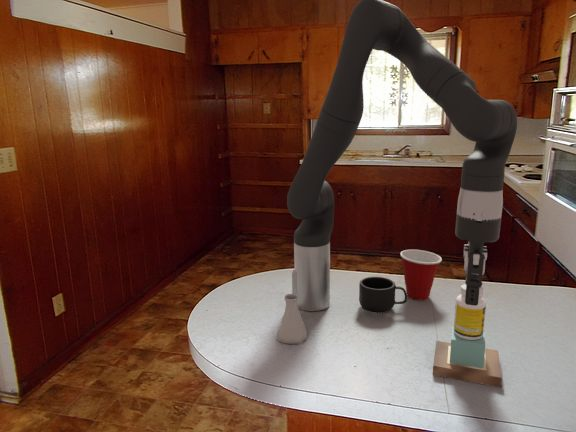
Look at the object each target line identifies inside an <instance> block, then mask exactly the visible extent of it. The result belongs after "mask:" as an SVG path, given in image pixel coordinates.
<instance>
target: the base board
mask: <svg viewBox="0 0 576 432" xmlns="http://www.w3.org/2000/svg"><path fill="white" fill-rule="evenodd" d="M450 351H451V342H449V341H448V342H446V341H442V340H441V341H440V340H436V341H435V349H434V357H433V364H432V376H438V377H442V378H448V379H454V380H457V381H458V380H459V381H464V382H471V383H474V384H475V383H476V384H482V385H487V386H491V387H492V386H493V387H495V388H501V387H502V379H503V375H502V370H501V361H500V355H499V350H497V349H491V348H486V347H485V355H484V365H483V368H478V367H472V366H466V365H460V364H455V363H450Z"/></svg>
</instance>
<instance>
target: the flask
mask: <svg viewBox="0 0 576 432" xmlns="http://www.w3.org/2000/svg"><path fill="white" fill-rule="evenodd" d="M297 300H298V295H296V294H292V293H287V294H285V295H284V301H285V308H284V314H283V316H282V318H281V319H282V320H281V322H280V325H279V328H278V331H277V335H276V337H277V338H276V340H277V341H279V342H281V343H284V344H287V345H289V344H290V345H291V344H293V345H294V344H296V345H297V344H302V343H303V342H304V341H306V340H307V339H308V331H307V329H306V326H305V324H304V320H303V319H302V316H301V313H300V311H299V308H298V306H297Z"/></svg>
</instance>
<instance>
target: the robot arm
mask: <svg viewBox="0 0 576 432" xmlns="http://www.w3.org/2000/svg"><path fill="white" fill-rule="evenodd" d="M373 50H375V51H383V52H384V53H386V54H389V56H392V57H394V58H395V59H397V60H398V61H400V62H401V63H402V64H403V65H404V66H405V67H406V68H407V69H408V70H409V72H410V74H411V76H412V78H413V81H414V82H415V83H416V84H417V86H418V87H419V89H421V91H422V92H423V93H424V94H425V95H427V96H428V97H429V98H430V99H431V100H432V101H433V102H434V103H435V104H437V106H439V107H440V108H441V109H442V110H443V111H444V112H443V113H444V114H445V115H446V117H447V118H448V120H449V122H450V123H451V125H452V126H453V127H454V129H455V130H456V131H457V132H458V133H459V134H460V136H462V137H464V138H465V139H467V140H468V141H472V142H475V143H474V144H475V145H474V149H473V151H472V153H471V154H470V155H468V156H467V157H466V158H465V159H464V160H463V162H462V166H461V176H460V178H461V179H460V189H459V192H458V193H459V194H458V198H457V208H456V218H455V219H456V220H455V228H454V229H455V232H454V235H455V236H456V237H457V238H458V239H460V240H463V241H467V244H463V259H464V266H463V271H464V274H465V281H464V284H466V295H465V303H466V304H467V305H474V306H476V305H478V299H479V289H480V287H483V275H484V274H485V272H486V271H485V270H486V261H487V258H488V249H487V248H488V247H487V245H486V246H485V244H486V243H489V244H490V243H494V242H497V241H498V240H499V238H500V232H501V225H502V213H503V205H504V198H503V193H504V190H503V189H504V183H505V172H506V171H505V170H506V168H505V167H506V164H507V161H508V158H509V156H510V153H511V151H512V148H513V143H514V141H515V138H516V134H517V130H518V129H517V127H518V115H517V112H516V110H515V108H514V106H513V105H512V104H511V103H510V102H508V101H507V100H505V99H486V98H485V97H482V96H481V95H480V93H478V92H477V91H476V88H477V87H476V82H475V81H474V80H473V78H472V77H470V76H469V75H468V74H467V73H466V72H465V71H464V70H463V69H461V68H460V67H459V66H458V65H457V64H455V63H454V62H453V61H451V60H450V59H449V58H447V57H446V56H445V55H444V54H442V52H440V51H439V50H438V49H436V47H434V46H433V45H432V44H431V43H430V42H429V41H428V40H427V39H426V38H425V37H424V36H423V35H422V34H421V33H420V32H419V31H418V29H417V28H416V27H415V25H414V24H413V23H412V21H411V20H410V19H409V18H408V17H407V15H406V14H405V12H403V10H401V9H400V7H398V6H396V5H395V4H394V3H392V2H391V3H390V2H388V1H385V0H360V1H359V2H358V3H357V4H356V5H355V6H354V8H353V10H352V11H351V13H350V16H349V18H348V21H347V25H346V27H345V31H344V35H343V40H342V44H341V47H340V51H339V55H338V59H337V62H336V67H335V70H334V72H333V75H332V78H331V82H330V84H329V88H328V90H327V93H326V96H325V99H324V101H323V103H322V105H321V109H320V111H319V114H318V117H317V120H316V124H315V127H314V130H313V132H312V135H311V138H310V140H309V143H308V146H307V149H306V151H305V154H304V157H303V159H302V162H301V164H300V166H299V168H298V169H297V173H296V174H295V176H294V178H293V181H292V183H291V184H290V187H289V190H288V192H287V196H286V206H287V209H288V211H289V213H290V215H291V216H292V217H293V218H294V219H297V220H302V221H301V223H300V224H299V226H298V227H297V228H296V229H295V231H294V233H293V250H294V251H293V253H294V254H293V256H294V257H293V258H294V259H293V260H294V269H293V270H292V271H291V288H292V290H291V294H296V295H298V300H297V306H298V309H300V310H303V311H308V312H318V311H322V310H325V309H327V308H328V307H330V305H331V301H330V300H331V235H332V233H333V229H334V219H335V218H334V217H335V195H334V192H333V189H332V187H331V185H330V184H329V182H328V181H326V180H327V177H328V174H329V173H330V172H331V169H332V168H333V167H334V165H335V164H337V161H339V159H340V158H342V156H343V154H344V153H345V151H346V150H347V149H348V148H349V146H350V145H351V143H352V142H353V140H354V137H355V135H356V132H357V130H358V129H359V127H360V123H361V121H362V117H363V114H364V86H363V85H364V84H363V82H364V81H363V80H364V74H365V70H366V66H367V64H368V61H369V58H370V56H371V54H372V51H373Z"/></svg>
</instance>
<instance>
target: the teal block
mask: <svg viewBox="0 0 576 432" xmlns="http://www.w3.org/2000/svg"><path fill="white" fill-rule="evenodd" d="M450 341H451V342H450V343H451V351H450V363H455V364H460V365H466V366H472V367H478V368H483V365H484V355H485V348H486V335H485V330H484V331H483V336H482V338H480V339H478V340H467V339H463V338H460V337H459V336H457V335H456V334H455V333H454V324H452V327H451V340H450Z"/></svg>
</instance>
